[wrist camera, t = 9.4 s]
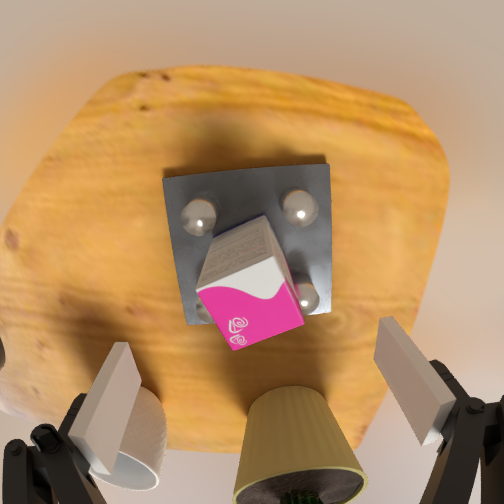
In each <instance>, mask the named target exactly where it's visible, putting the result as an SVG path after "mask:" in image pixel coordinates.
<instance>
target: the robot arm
mask: <svg viewBox="0 0 504 504" xmlns="http://www.w3.org/2000/svg"><path fill="white" fill-rule="evenodd" d="M374 361H375V363H376V364H377V366H378V368H379V369H380V371H381V373H382V375H383V376H384V378H385V380H386V382H387V384H388V385H389V387H390V389H391V391H392V392H393V394H394V396H395V398H396V400H397V401H398V403H399V405H400V407H401V409H402V411H403V412H404V414H405V416H406V418H407V420H408V422H409V423H410V425H411V427H412V429H413V431H414V433H415V435H416V437H417V438H418V440H419V442H420V444H421V446H424V445H427V444H429V443H432V442H434V441H436V440H437V438H438V436H439V434H440V433H441V434H442V436H443V438H444V439H443V441H442V443H441V445H440V447H439V448H438V450H437V452H439V453H438V456H437V459H436V462H435V465H434V467H433V470H432V473H431V476H430V479H429V481H428V484H427V486H426V489H425V491H424V494H423V496H422V499H421V501H420V503H419V504H468V502H469V499H470V496H471V492H472V488H473V485H474V481H475V477H476V473H477V468H478V463H479V459H480V464H481V504H504V395H503V396H502V398H501V400H500V402H495V403H487V404H485V403H484V402H483V401H482V400H481V399H478V398H475V397H469V395H468V394H467V393H466V392H465V390H464V389H463V388H462V386H461V385H460V384H459V382H458V381H457V380H456V379H455V378H454V376H453V375H452V374H451V373H450V371H449V370H448V369H447V367H446V366H445V365H444V364H443V363H441V362H439V361H438V360H432V361H428V360H427V359H426V358H425V356H424V355H423V354H422V353H421V351H420V350H419V349H418V347H417V346H416V345H415V344H414V342H413V341H412V340H411V339H410V337H409V336H408V335H407V334H406V332H405V331H404V330H403V329H402V327H401V326H400V325H399V324H398V323H397V321H396V320H395V319H394V318H393V316H390V317H385V318H380V319H379V327H378V334H377V341H376V348H375V354H374ZM4 363H5V353H4V348H3V345H2V342H1V340H0V370H1V369H2V367H3V366H4ZM141 382H142V380H141V377H140V375H139V372H138V369H137V367H136V364H135V361H134V358H133V355H132V352H131V349H130V347H129V344H128V342H115V343H114V345H113V347H112V349H111V351H110V353H109V354H108V356H107V358H106V360H105V362H104V364H103V365H102V367H101V369H100V371H99V373H98V375H97V377H96V379H95V381H94V383H93V384H92V386H91V388H90V390H89V392H88V394H84V393H81V394H80V395H79V396H77V397H76V398H75V399H74V401H73V402H72V404H71V406H70V409H69V410H68V412H67V415H66V416H65V418H64V420H63V422H62V424H61V426H60V428H59V430H58V432H57V430H56V429H55V427H54V426H53V425H51V424H46V423H45V424H41V425H39V426H37V427H35V429H34V430H33V431H32V433H31V435H30V438H31V441H32V442H33V443H34V445H35V446H27V445H26V444H25V442H24V441H23V440H21V439H14V440H11V441H10V442H9V443H7V445H6V446H5V449H4V459H3V484H2V485H3V486H2V489H3V490H2V496H3V497H2V499H3V504H58V502H59V504H107V503H106V501H105V499H104V498H103V496H102V494H101V493H100V491H99V489H98V487H97V485H96V484H95V482H94V480H93V478H92V476H91V474H90V473H89V469H90V466H91V467H92V468H93V469H94V470H95V472H97V473H102V474H107V475H111V474H112V471H113V467H114V464H115V461H116V457H117V454H118V451H119V448H120V445H121V441H122V438H123V435H124V432H125V429H126V426H127V423H128V420H129V417H130V414H131V411H132V408H133V405H134V402H135V399H136V396H137V393H138V391H139V388H140V385H141Z"/></svg>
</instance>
